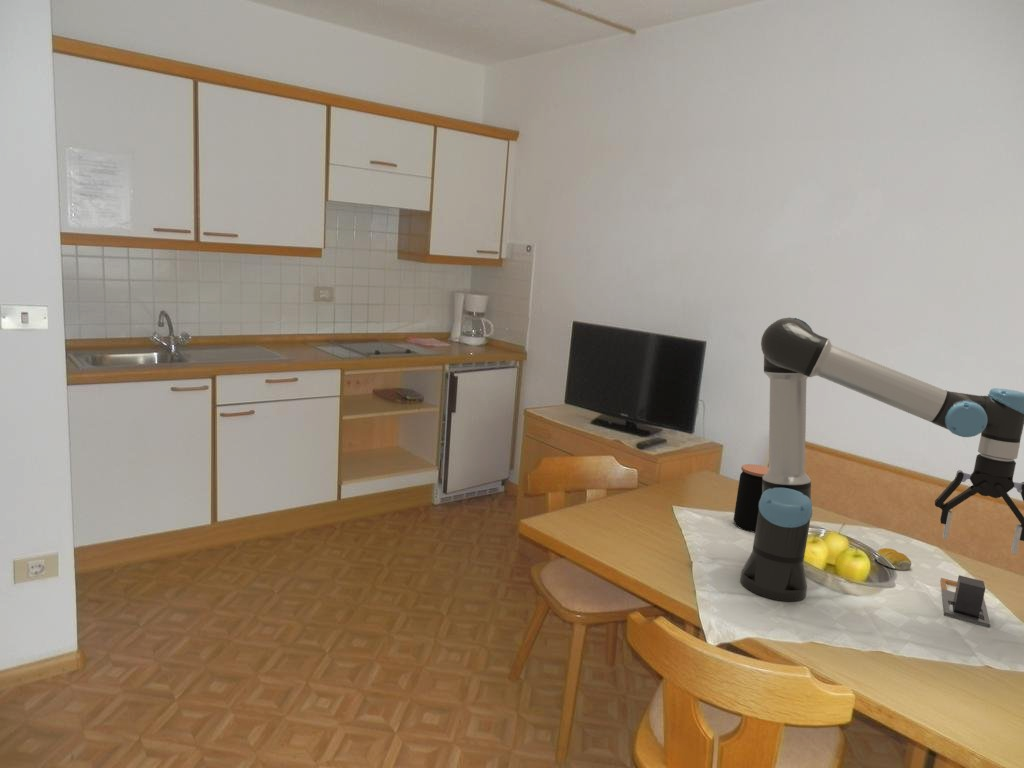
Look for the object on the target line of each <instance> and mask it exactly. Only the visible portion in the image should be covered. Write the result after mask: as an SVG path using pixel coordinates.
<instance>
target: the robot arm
mask: <svg viewBox="0 0 1024 768" xmlns="http://www.w3.org/2000/svg"><path fill="white" fill-rule="evenodd" d="M760 346H761V351H762V354H763V373H764V374H765V375H766V376H767V377H768V378H769V422H768V423H769V426H768V427H769V429H768V431H769V432H768V433H769V434H768V438H769V439H768V441H769V442H768V467H769V471H768V472H767V473H766V474H765V475H763V479H762V495H761V499H760V501H759V512H758V518H757V524H756V531H755V532H754V538H753V544H752V550H751V553H750V554H749V556H748V558H747V560H746V562H745V564H744V565H743V567H742V569H741V572H740V573H741V574H740V579H739V580H740V583H741V584H742V586H743V587H744V588H745V589H746V590H749V591H750V592H752V593H754V594H756V595H759V596H761V597H764V598H768V599H770V600H771V599H772V600H776V601H784V602H796V601H800V600H803V599H805V598H806V596H807V591H808V582H807V578H806V572H805V566H804V558H805V554H806V549H807V548H806V547H807V543H808V535H809V530H810V525H811V523H810V522H811V520H812V517H813V503H812V499H811V498H812V479H811V478H810V477H809V476H808V474H806V429H807V428H806V425H807V424H806V421H807V379H808V378H813V377H816V376H817V377H820V378H822V379H825V380H827V381H830V382H833V383H834V384H837V385H840V386H842V387H844V388H847V389H849V390H851V391H854V392H856V393H858V394H861V395H863V396H866V397H868V398H872V399H874V400H876V401H878V402H881V403H883V404H886V405H888V406H890V407H893V408H896V409H898V410H900V411H903V412H905V413H907V414H910V415H912V416H915V417H917V418H919V419H923V420H925V421H927V422H929V423H932V424H934V425H935V426H939V427H941V428H942V429H943V428H944V429H946V430H948V431H949V432H950V433H951V434H953V435H956V436H958V437H962V438H972V437H975V436H978V435H980V439H979V442H978V443H979V444H978V449H977V452H978V454H977V455H976V458H975V461H974V462H975V463H974V467H973V471H972V473H971V474H970V473H966V472H963V470H959V469H958V470H957V472H956V474H955V477H954V479H953V480H952V481H951V482H950V483H949V484H948V485H947V486H946V488H945V489H944V490H943V491H942V492H941V494H940V495H939V496H938V497H937V498H936V499H935V500H934V506H935V507H936V508H939V509H941V513H940V514H941V515H940V525H941V524H943V525H944V527H943V533H942V538H943V540H948V535H949V530H950V527H951V521H952V515H953V512H952V509H954V508H955V507H957V506H958V505H960V504H961V503H963V502H964V501H966V500H968V499H970V498H971V497H974V496H975V495H976V494H979V495H980V496H984V497H991V498H994V499H999V498H1002V499H1003V500H1004V501H1005V502H1004V503H1006V505H1007V506H1008V507H1009V509H1010V510H1011V512H1012V513H1013V514H1014V516H1015V518H1016V519H1017V520H1018V522H1019V523H1016V525H1015V529H1014V530H1015V531H1014V533H1013V540H1012V543H1011V549H1010V552H1011V554H1012V555H1015V556H1017V554H1018V550H1019V544H1020V541H1022V542H1024V515H1023V513H1022V511H1021V510H1019V507H1017V505H1016V504H1015V502H1014V500H1012V498H1011V497H1010V495H1009V494H1008V492H1010V491H1011V490H1013V489H1016V491H1017V492H1018V493H1020V495H1021V499H1022V501H1023V502H1024V481H1022V482H1014V481H1013V480H1014V475H1015V469H1016V465H1017V462H1016V461H1015V460H1016V459H1017V458H1018V455H1019V449H1020V444H1021V439H1022V434H1023V430H1024V392H1022V391H1020V390H1019V391H1018V390H1014V389H1007V388H997V387H996V388H995V387H994V388H993V387H992V388H991V389H990V390H989V392H988V394H987V395H976V394H970V393H964V392H957V391H956V392H955V391H948V390H945V389H942V388H940V387H937V386H935V385H932V384H930V383H928V382H925V381H924V380H923V381H922V380H920V379H918V378H915V377H912V376H910V375H907V374H905V373H903V372H900V371H898V370H895V369H892V368H890V367H887V366H885V365H882V364H880V363H877V362H875V361H872V360H870V359H869V358H868V359H867V358H865V357H863V356H859V355H858V354H855V353H852V352H851V351H847V350H846V349H845V350H844V349H843V348H839V347H837V346H834V345H833V344H832V343H831V340H830V338H828V337H824V336H821V335H819V334H818V333H816V332H815V331H814V330H813V329H812V327H811V326H810V325H809V324H808V323H807V322H805V321H804V320H802V319H800V318H797V317H783V318H780V319H778V320H776V321H773V322H772V323H771V324H770V325H769V326H767V328H766V329H765V330H764V332H763V334H762V336H761V341H760ZM967 480H970V483H971V486H969V487H967V489H965V490H963V491H962V492H961V493H959V494H957V496H954V497H953V498H951V499H950V500H948V498H949V497H950V496H951V495H952V494H953V493H954V492H955V490H956V489H957V488H959V486H960V485H961V484H962V483H965V482H966V481H967ZM946 500H948V501H947V502H946ZM945 502H946V503H945Z"/></svg>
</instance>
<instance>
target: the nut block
mask: <svg viewBox="0 0 1024 768" xmlns="http://www.w3.org/2000/svg"><path fill="white" fill-rule="evenodd" d="M956 582H957V586H955V591H954V592H955V596H954V601H953V605H952V612H955V613H959V614H962V615H966V616H970V617H974V618H977V619H980V616H981V612H980V611H981V607H982V602H983V597H984V596H985V591H986V586H985V582H984V581H983V580H980V579H975V578H972V577H969V576H963V575H960V574H959V575H958V578H957V581H956ZM984 598H985V597H984Z"/></svg>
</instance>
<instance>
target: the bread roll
mask: <svg viewBox="0 0 1024 768" xmlns="http://www.w3.org/2000/svg"><path fill="white" fill-rule="evenodd" d="M876 552H878V553H879V554H880V555H882V556H883V557H885V558H886V559H887V560H888V561H889V562H890V563H891V564H892V565H893V566H894V567H895V569H896V571H907V570H910V568H911V566H912V561H911V559H910V558H909V557H908V556H907V555H906V554H904V553H902V552H898V551H897V550H896V549H893V548H888V547H887V548H880V549H878V550H877V551H876ZM895 569H894V570H895Z"/></svg>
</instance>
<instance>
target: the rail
mask: <svg viewBox="0 0 1024 768" xmlns="http://www.w3.org/2000/svg"><path fill="white" fill-rule="evenodd" d="M947 585H950V586H953V587H956V586H957V581H956V580H952V579H948V578H944V577H940V591H941V599H942V609H943V615H944V616H945V617H949V618H952V619H956V620H960V621H964V622H967V623H972V624H975V625H979V626H982V627H986V628H991V621H990V615H989V614H988V613H989V612H988V609H987V606H986V601H985V597H983V602H982V607H981V611H980V614H981V616H982V619H981V618H979V619H977V618H974V617H970V616H966V615H962V614H959V613H955V612H953V611H951V610H950V605H952V606H953V601H954V596H955V591H952V590H947Z"/></svg>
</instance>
